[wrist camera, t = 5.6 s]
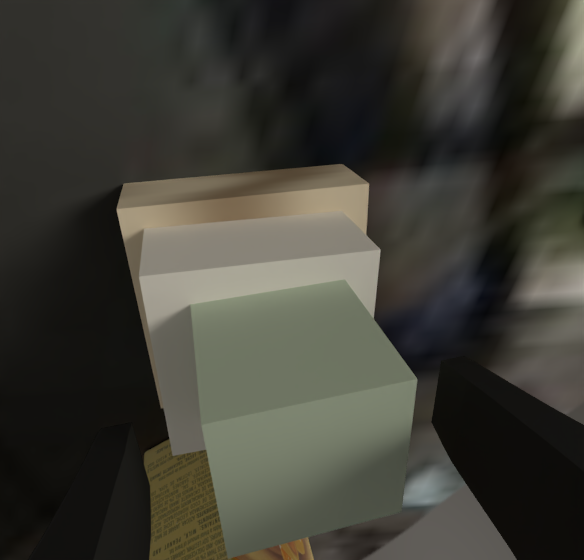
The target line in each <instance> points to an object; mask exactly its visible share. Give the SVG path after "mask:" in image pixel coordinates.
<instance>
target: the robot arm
mask: <svg viewBox="0 0 584 560" xmlns="http://www.w3.org/2000/svg"><path fill="white" fill-rule="evenodd" d="M432 424H433V426H434V428H435V430H436V432H437V434H438V436H439V438H440V440H441V442H442V444H443V446H444V448H445V450H446V452H447V454H448V456H449V458H450V459H451V461H452V463H453V464H454V466H455V467H456V469H457V471H458V472H459V474H460V475H461V477H462V478H463V480H464V481H465V483H466V484H467V486H468V487H469V489H470V490H471V492H472V493H473V494H474V496H475V498H476V499H477V500H478V502H479V503H480V505H481V506H482V508H483V509H484V511H485V512H486V514H487V515H488V516H489V518H490V520H491V521H492V522H493V524H494V526H495V527H496V528H497V530H498V532H499V533H500V534H501V536H502V537H503V539H504V540H505V542H506V543H507V545H508V546H509V548H510V549H511V551H512V552H513V554H514V556H515V557H516V559H517V560H584V425H583V424H581V423H579V422H577V421H575V420H574V419H572V418H570V417H568V416H566V415H565V414H563V413H561V412H559V411H557V410H556V409H554V408H552V407H550V406H549V405H547V404H545V403H543V402H542V401H540V400H538V399H537V398H535V397H533V396H531V395H530V394H528V393H526V392H525V391H523V390H521V389H520V388H518V387H516V386H515V385H513V384H511V383H509V382H508V381H506V380H504V379H503V378H501V377H499V376H498V375H496V374H494V373H493V372H491V371H489V370H488V369H486V368H484V367H482V366H481V365H479V364H477V363H476V362H474V361H472V360H470V359H468V358H466V357H465V356H463V357H458V358H453V359H448V360H442V361H441V365H440V372H439V378H438V385H437V391H436V397H435V404H434V410H433V416H432ZM150 542H151V499H150V483H149V480H148V477H147V473H146V470H145V466H144V463H143V460H142V456H141V453H140V449H139V446H138V442H137V439H136V436H135V432H134V429H133V425H132V422H131V423H126V424H121V425H116V426H111V427H106V428H101V430H100V431H99V432H98V433H97V435H96V437H95V439H94V441H93V443H92V445H91V447H90V449H89V451H88V453H87V456H86V458H85V460H84V462H83V464H82V466H81V467H80V469H79V471H78V473H77V475H76V477H75V479H74V481H73V483H72V485H71V487H70V488H69V490H68V492H67V494H66V496H65V498H64V499H63V501H62V503H61V505H60V506H59V508H58V510H57V512H56V514H55V515H54V517H53V519H52V521H51V522H50V524H49V526H48V528H47V529H46V531H45V533H44V535H43V536H42V538H41V540H40V541H39V543H38V544H37V546H36V548H35V549H34V551H33V552H32V554H31V556H30V557H29V559H28V560H149V554H150Z"/></svg>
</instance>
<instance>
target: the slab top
mask: <svg viewBox="0 0 584 560" xmlns="http://www.w3.org/2000/svg"><path fill="white" fill-rule="evenodd" d="M380 251H381V249H380V248H379V247H378V246H377V245H376V244H375V243H374V242H373V241H372V240H371V239H370V238H369V237H368V236H367V235H366V234H365V233H364V232H363V231H362V230H361V229H360V228H359V227H358V226H357V225H356V224H355V223H354V222H353V221H352V220H351V219H350V218H349V217H348V216H347V215H346V214H345V213H344V212H343V211H334V212H323V213H312V214H301V215H290V216H279V217H268V218H257V219H245V220H234V221H223V222H212V223H201V224H190V225H179V226H168V227H157V228H146V229H144V233H143V242H142V252H141V261H140V270H139V280H140V285H141V291H142V296H143V301H144V307H145V312H146V317H147V323H148V328H149V333H150V338H151V344H152V349H153V354H154V360H155V365H156V370H157V376H158V381H159V386H160V392H161V397H162V402H163V407H164V413H165V418H166V423H167V429H168V434H169V439H170V445H171V450H172V455H173V456H175V455H180V454H186V453H191V452H196V451H201V450H206V446H205V441H204V436H203V431H202V426H201V416H200V405H199V394H198V383H197V372H196V361H195V350H194V339H193V328H192V317H191V306H190V304H196V303H202V302H209V301H215V300H221V299H227V298H233V297H239V296H245V295H252V294H258V293H264V292H270V291H276V290H282V289H288V288H295V287H301V286H307V285H313V284H319V283H325V282H331V281H338V280H344V279H345V280H346V282H347V283H348V284H349V286H350V287H351V288H352V290H353V291H354V293H355V294H356V295H357V297H358V298H359V299H360V301H361V302H362V304H363V305H364V306H365V308H366V309H367V310H368V312H369V313H370V315H371V316H372V317H373V319H374V311H375V301H376V291H377V281H378V271H379V261H380Z"/></svg>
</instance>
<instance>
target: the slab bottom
mask: <svg viewBox="0 0 584 560" xmlns="http://www.w3.org/2000/svg"><path fill="white" fill-rule="evenodd" d="M368 196H369V183H368V182H366V181H365V180H364V179H362V178H361V177H359V176H358V175H357V174H355V173H354V172H353V171H351V170H350V169H348V168H347V167H346V166H344V165H343V164H337V165H326V166H314V167H303V168H292V169H281V170H270V171H259V172H248V173H237V174H225V175H214V176H203V177H192V178H181V179H170V180H159V181H148V182H136V183H125V184H123V188H122V191H121V195H120V198H119V202H118V205H117V209H116V210H117V214H118V219H119V223H120V227H121V232H122V236H123V241H124V245H125V250H126V254H127V259H128V263H129V268H130V272H131V277H132V281H133V286H134V290H135V294H136V299H137V303H138V308H139V312H140V317H141V321H142V326H143V330H144V335H145V339H146V344H147V348H148V352H149V357H150V361H151V366H152V370H153V375H154V379H155V384H156V388H157V393H158V397H159V402H160V406H161V408H164V407H163V402H162V397H161V392H160V386H159V381H158V376H157V370H156V365H155V360H154V354H153V349H152V344H151V338H150V333H149V328H148V323H147V317H146V312H145V307H144V301H143V296H142V291H141V285H140V280H139V270H140V261H141V252H142V242H143V233H144V229H146V228H157V227H168V226H179V225H190V224H201V223H212V222H223V221H234V220H245V219H257V218H268V217H279V216H290V215H301V214H312V213H323V212H334V211H343V212H344V213H345V214H346V215H347V216H348V217H349V218H350V219H351V220H352V221H353V222H354V223H355V224H356V225H357V226H358V227H359V228H360V229H361V230H362V231H363V232H364V233H365V234H366V230H367V213H368Z"/></svg>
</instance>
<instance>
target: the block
mask: <svg viewBox="0 0 584 560" xmlns="http://www.w3.org/2000/svg"><path fill="white" fill-rule="evenodd" d="M190 306H191V317H192V328H193V339H194V350H195V361H196V372H197V383H198V394H199V405H200V416H201V426H202V431H203V436H204V441H205V446H206V451H207V456H208V461H209V466H210V471H211V476H212V481H213V486H214V492H215V497H216V502H217V507H218V512H219V517H220V522H221V527H222V532H223V537H224V542H225V547H226V552H227V557H228V559H229V558H233V557H236V556H240V555H244V554H248V553H251V552H255V551H259V550H262V549H266V548H270V547H273V546H277V545H281V544H285V543H288V542H292V541H296V540H299V539H303V538H307V537H310V536H314V535H318V534H322V533H325V532H329V531H333V530H336V529H340V528H344V527H347V526H351V525H355V524H359V523H362V522H366V521H370V520H373V519H377V518H381V517H384V516H388V515H392V514H396V513H399V512H401V511H402V502H403V494H404V486H405V478H406V469H407V461H408V453H409V444H410V436H411V428H412V420H413V411H414V403H415V395H416V387H417V378H416V376H415V375H414V374H413V372H412V371H411V370H410V368H409V367H408V365H407V364H406V363H405V361H404V360H403V359H402V357H401V356H400V354H399V353H398V352H397V350H396V349H395V348H394V346H393V345H392V343H391V342H390V341H389V339H388V338H387V337H386V335H385V334H384V332H383V331H382V330H381V328H380V327H379V326H378V324H377V323H376V321H375V320H374V319H373V317H372V316H371V315H370V313H369V312H368V310H367V309H366V308H365V306H364V305H363V304H362V302H361V301H360V299H359V298H358V297H357V295H356V294H355V293H354V291H353V290H352V288H351V287H350V286H349V284H348V283H347V282H346V280H345V279H344V280H338V281H331V282H325V283H319V284H313V285H307V286H301V287H295V288H288V289H282V290H276V291H270V292H264V293H258V294H252V295H245V296H239V297H233V298H227V299H221V300H215V301H209V302H202V303H196V304H190Z"/></svg>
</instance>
